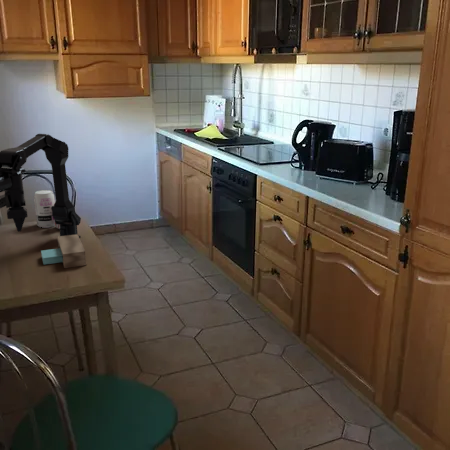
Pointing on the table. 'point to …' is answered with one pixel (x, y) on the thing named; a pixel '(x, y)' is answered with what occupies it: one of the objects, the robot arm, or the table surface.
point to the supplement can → (44, 208)
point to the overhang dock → (72, 251)
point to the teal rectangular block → (52, 256)
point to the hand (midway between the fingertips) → (19, 231)
